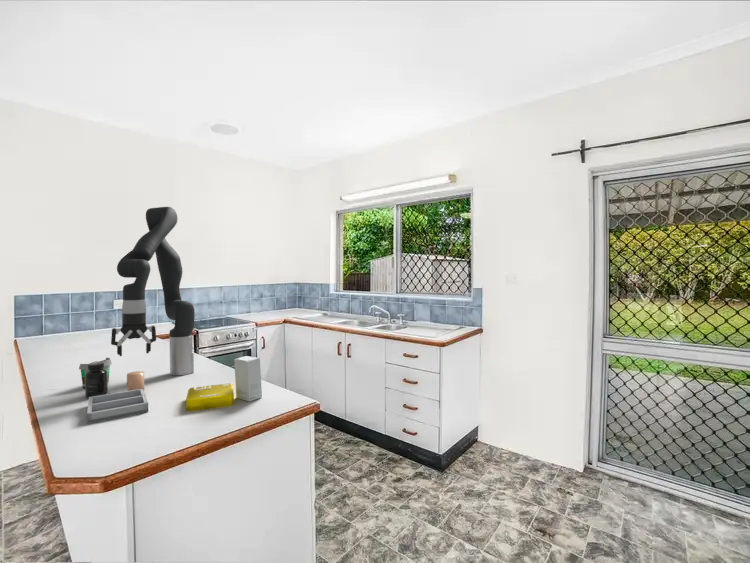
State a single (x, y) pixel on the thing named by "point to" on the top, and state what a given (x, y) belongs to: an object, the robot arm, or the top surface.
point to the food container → (85, 369)
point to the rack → (116, 405)
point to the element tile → (209, 397)
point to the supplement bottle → (96, 380)
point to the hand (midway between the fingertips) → (134, 354)
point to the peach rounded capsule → (135, 380)
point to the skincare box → (248, 378)
